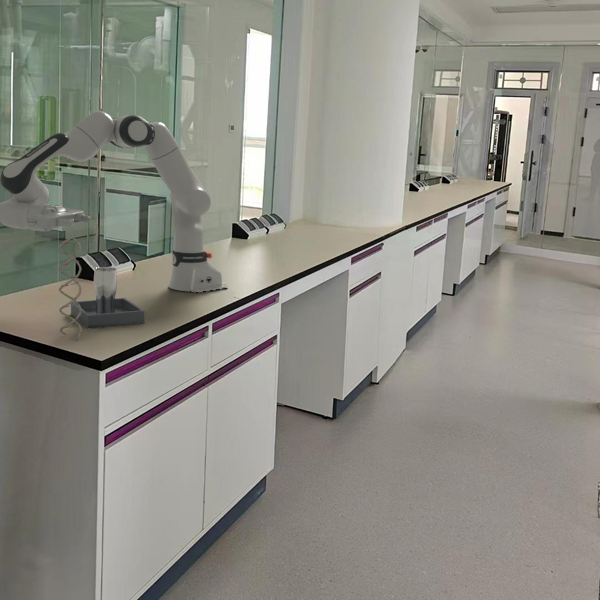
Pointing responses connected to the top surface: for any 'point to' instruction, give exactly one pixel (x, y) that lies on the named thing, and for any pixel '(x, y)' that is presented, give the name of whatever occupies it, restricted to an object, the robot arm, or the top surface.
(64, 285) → the dna model
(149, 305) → the top surface
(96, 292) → the beer glass
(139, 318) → the box
